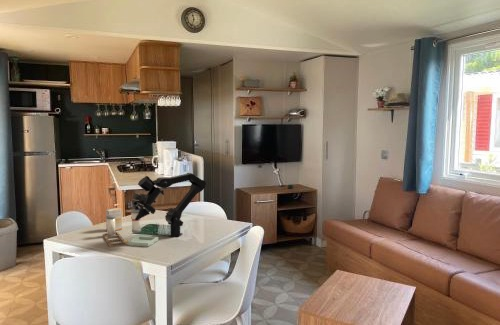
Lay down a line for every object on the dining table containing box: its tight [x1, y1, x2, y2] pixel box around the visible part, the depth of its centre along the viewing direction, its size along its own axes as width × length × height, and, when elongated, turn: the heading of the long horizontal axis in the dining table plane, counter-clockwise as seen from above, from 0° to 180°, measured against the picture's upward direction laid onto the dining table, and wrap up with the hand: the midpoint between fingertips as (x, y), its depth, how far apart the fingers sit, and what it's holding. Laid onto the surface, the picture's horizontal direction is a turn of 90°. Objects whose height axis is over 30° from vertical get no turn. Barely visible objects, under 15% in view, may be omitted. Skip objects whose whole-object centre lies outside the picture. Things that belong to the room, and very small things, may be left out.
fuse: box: [106, 215, 117, 237], centre depth 223 cm, size 5×5×12 cm
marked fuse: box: [130, 209, 142, 234], centre depth 209 cm, size 5×5×12 cm
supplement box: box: [105, 207, 123, 231], centre depth 237 cm, size 8×5×13 cm, turn 135°
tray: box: [127, 235, 159, 248], centre depth 210 cm, size 12×12×2 cm
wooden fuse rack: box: [102, 231, 129, 247], centre depth 217 cm, size 24×11×1 cm, turn 29°
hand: (133, 219), depth 208 cm, fingers closed on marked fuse, 4 cm apart
